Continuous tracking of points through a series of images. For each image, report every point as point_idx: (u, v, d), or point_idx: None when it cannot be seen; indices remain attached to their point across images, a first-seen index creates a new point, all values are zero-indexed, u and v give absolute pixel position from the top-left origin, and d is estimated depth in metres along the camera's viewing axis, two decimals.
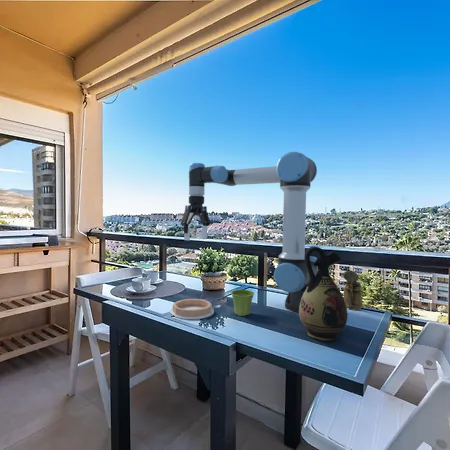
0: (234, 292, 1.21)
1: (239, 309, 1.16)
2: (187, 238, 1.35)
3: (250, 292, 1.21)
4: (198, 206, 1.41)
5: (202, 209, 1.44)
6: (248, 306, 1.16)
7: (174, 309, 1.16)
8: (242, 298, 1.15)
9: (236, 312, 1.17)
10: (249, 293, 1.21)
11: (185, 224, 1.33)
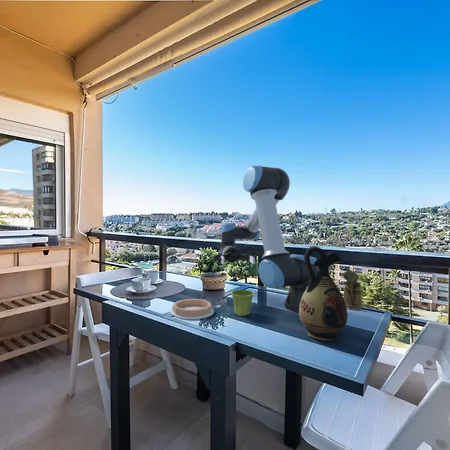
0: (234, 292, 1.21)
1: (239, 309, 1.16)
2: (222, 259, 1.28)
3: (250, 292, 1.21)
4: (233, 253, 1.44)
5: None
6: (248, 306, 1.16)
7: (174, 309, 1.16)
8: (242, 298, 1.15)
9: (236, 312, 1.17)
10: (249, 293, 1.21)
11: (215, 255, 1.34)
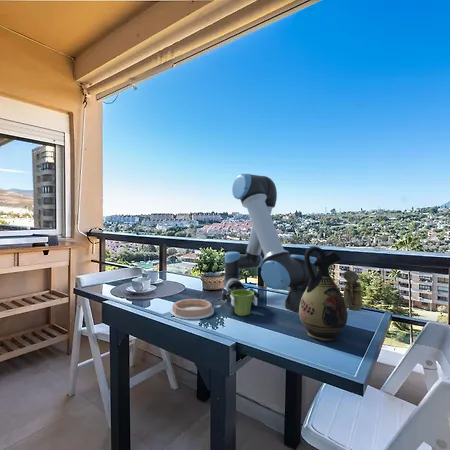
0: (234, 292, 1.21)
1: (239, 309, 1.16)
2: (232, 300, 1.14)
3: (250, 292, 1.21)
4: (237, 288, 1.31)
5: (245, 289, 1.30)
6: (248, 306, 1.16)
7: (174, 309, 1.16)
8: (242, 298, 1.14)
9: (236, 312, 1.17)
10: (249, 293, 1.21)
11: (224, 294, 1.20)
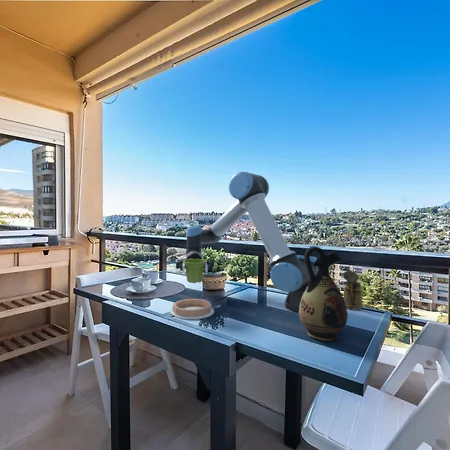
0: (187, 261, 1.23)
1: (190, 276, 1.17)
2: (182, 267, 1.16)
3: (203, 261, 1.22)
4: None
5: None
6: (199, 273, 1.17)
7: (174, 309, 1.16)
8: (193, 265, 1.16)
9: (188, 279, 1.18)
10: (202, 262, 1.23)
11: (177, 262, 1.22)
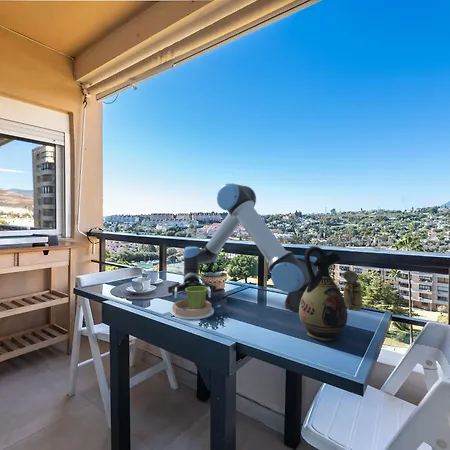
0: (189, 288, 1.23)
1: (192, 304, 1.18)
2: (174, 292, 1.16)
3: (205, 288, 1.23)
4: (192, 282, 1.32)
5: (199, 283, 1.31)
6: (201, 302, 1.18)
7: (174, 309, 1.16)
8: (195, 294, 1.17)
9: (190, 308, 1.19)
10: (204, 289, 1.24)
11: (169, 287, 1.23)
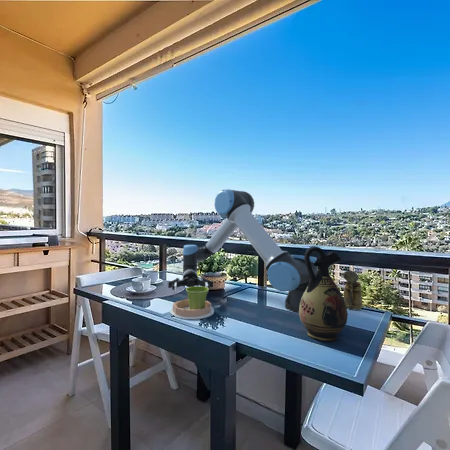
0: (190, 288, 1.23)
1: (193, 305, 1.18)
2: None
3: (205, 288, 1.23)
4: (191, 278, 1.40)
5: None
6: (202, 302, 1.18)
7: (174, 309, 1.16)
8: (195, 295, 1.17)
9: (190, 308, 1.19)
10: (204, 289, 1.24)
11: (169, 282, 1.31)
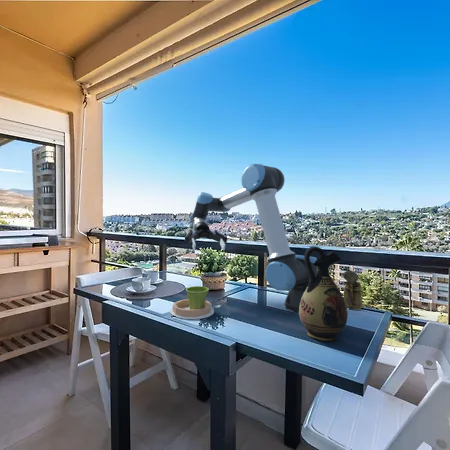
0: (190, 288, 1.23)
1: (193, 305, 1.18)
2: (193, 245, 1.28)
3: (205, 288, 1.23)
4: (203, 230, 1.44)
5: (210, 231, 1.43)
6: (202, 302, 1.18)
7: (174, 309, 1.16)
8: (195, 295, 1.17)
9: (190, 308, 1.19)
10: (204, 289, 1.24)
11: (186, 237, 1.33)
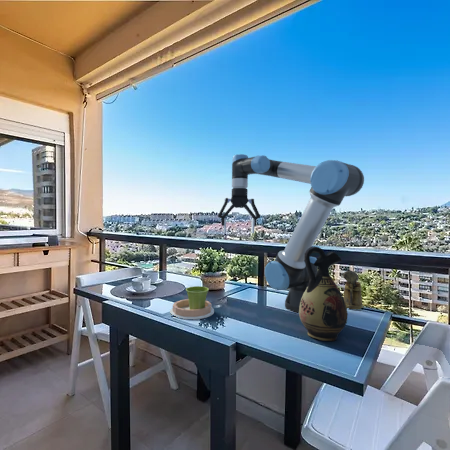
0: (190, 288, 1.23)
1: (193, 305, 1.18)
2: (224, 230, 1.37)
3: (205, 288, 1.23)
4: (240, 199, 1.37)
5: (247, 202, 1.38)
6: (202, 302, 1.18)
7: (174, 309, 1.16)
8: (195, 295, 1.17)
9: (190, 308, 1.19)
10: (204, 289, 1.24)
11: (219, 216, 1.36)
